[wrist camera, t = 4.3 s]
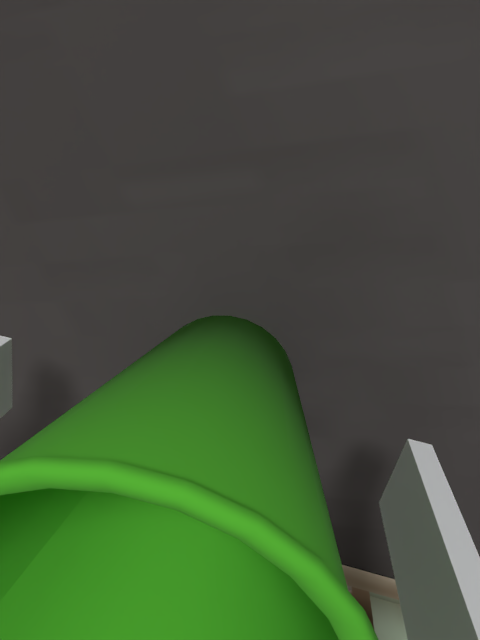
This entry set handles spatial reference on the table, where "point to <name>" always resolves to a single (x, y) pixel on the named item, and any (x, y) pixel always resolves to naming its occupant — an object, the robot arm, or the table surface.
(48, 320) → the table surface
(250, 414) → the cup
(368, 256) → the table surface
